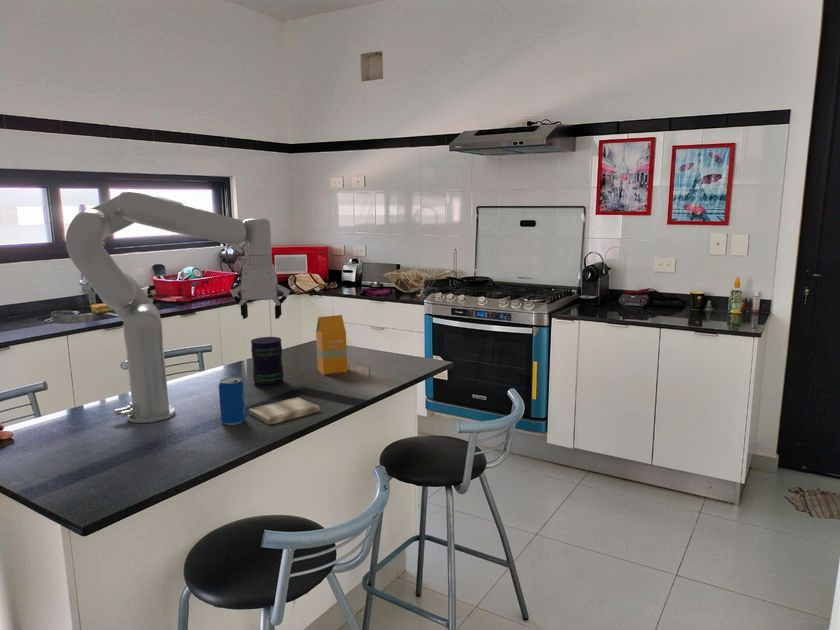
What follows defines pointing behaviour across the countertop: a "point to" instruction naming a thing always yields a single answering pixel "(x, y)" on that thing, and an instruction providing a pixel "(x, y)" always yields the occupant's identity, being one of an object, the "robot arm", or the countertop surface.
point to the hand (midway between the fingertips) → (261, 318)
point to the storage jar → (267, 361)
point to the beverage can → (232, 401)
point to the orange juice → (331, 345)
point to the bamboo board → (283, 410)
